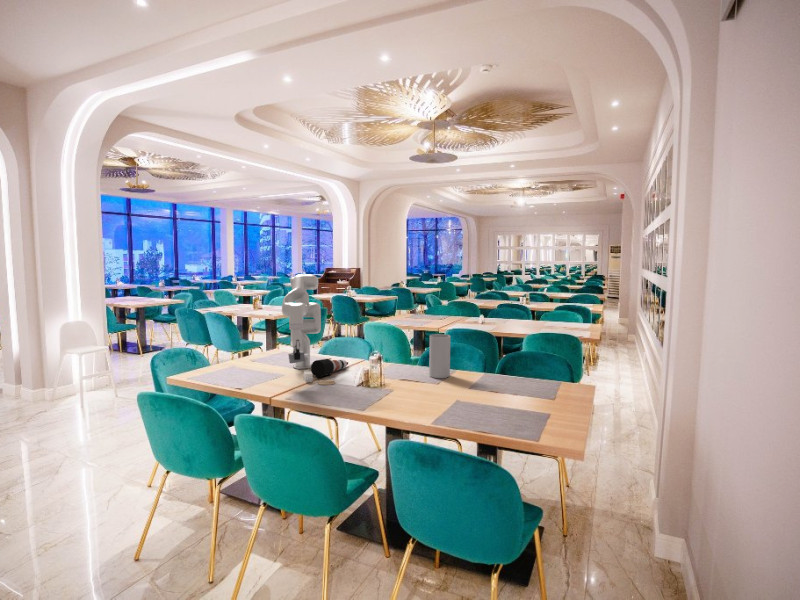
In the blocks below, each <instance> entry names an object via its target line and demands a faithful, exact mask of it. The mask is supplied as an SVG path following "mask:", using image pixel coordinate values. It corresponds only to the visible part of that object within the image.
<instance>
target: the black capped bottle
mask: <svg viewBox="0 0 800 600" xmlns="http://www.w3.org/2000/svg"><path fill="white" fill-rule="evenodd" d="M311 364H312V365H311V368H310V371H311V372H312V373H313V376H314V377H316V378H320V377H325V376H326V377H327V376H329V375H331V374H333V372H337V371H340V370H343V369H345V368H347V366H348V365H349V362H348V361H347V360H345V359H333V360H331V359H330V358H323V359H316V360H314V361H313V362H311Z"/></svg>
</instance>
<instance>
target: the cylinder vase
mask: <svg viewBox="0 0 800 600" xmlns="http://www.w3.org/2000/svg"><path fill="white" fill-rule="evenodd" d="M428 357H429V359H428V360H429V365H428V368H429V369H428V371H429V372H428V374H429V377H430V376H431V377H430V378H433V379H447V377H448V378H450V375H451V372H450V371H451V335H449V334H445V333H444V334H442V333H434V334H430V335H429V355H428Z"/></svg>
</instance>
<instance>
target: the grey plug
mask: <svg viewBox="0 0 800 600" xmlns="http://www.w3.org/2000/svg"><path fill="white" fill-rule="evenodd" d="M294 353H295V352H294ZM294 353H293V352H290V353H288V362H289V364H296V363H297V362H302V361H305V357H309V354H308V353H307V354H304V352H303V351H300V360H294Z"/></svg>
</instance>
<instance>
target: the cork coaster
mask: <svg viewBox="0 0 800 600" xmlns="http://www.w3.org/2000/svg"><path fill="white" fill-rule="evenodd" d="M335 383H336V380H334V379H320V380H318V381H317V385H319V386H330V385H332V386H333V385H334V384H335Z"/></svg>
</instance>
